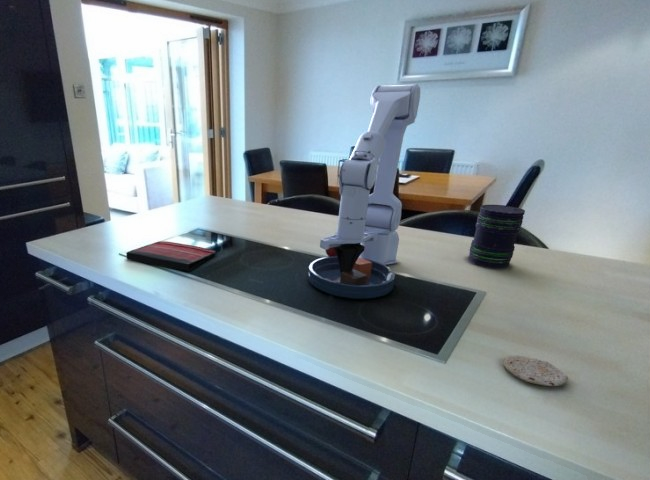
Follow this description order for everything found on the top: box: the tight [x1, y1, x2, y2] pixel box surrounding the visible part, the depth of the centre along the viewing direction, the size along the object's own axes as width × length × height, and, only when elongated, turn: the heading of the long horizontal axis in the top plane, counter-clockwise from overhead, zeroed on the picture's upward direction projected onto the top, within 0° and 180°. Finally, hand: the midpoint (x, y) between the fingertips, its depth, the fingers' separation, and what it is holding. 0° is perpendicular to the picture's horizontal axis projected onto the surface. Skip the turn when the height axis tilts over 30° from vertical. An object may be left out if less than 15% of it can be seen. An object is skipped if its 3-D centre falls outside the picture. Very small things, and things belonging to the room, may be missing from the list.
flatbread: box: [502, 355, 569, 387], centre depth 61 cm, size 8×8×1 cm
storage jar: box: [467, 204, 526, 270], centre depth 104 cm, size 10×10×15 cm
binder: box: [125, 240, 217, 273], centre depth 111 cm, size 16×2×21 cm
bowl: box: [307, 256, 396, 300], centre depth 93 cm, size 19×19×4 cm
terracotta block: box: [353, 257, 372, 278], centre depth 96 cm, size 4×4×4 cm
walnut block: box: [340, 269, 367, 285], centre depth 88 cm, size 4×4×4 cm
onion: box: [324, 247, 337, 257], centre depth 107 cm, size 6×6×8 cm
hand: (345, 274), depth 90 cm, fingers closed, pressing on walnut block
